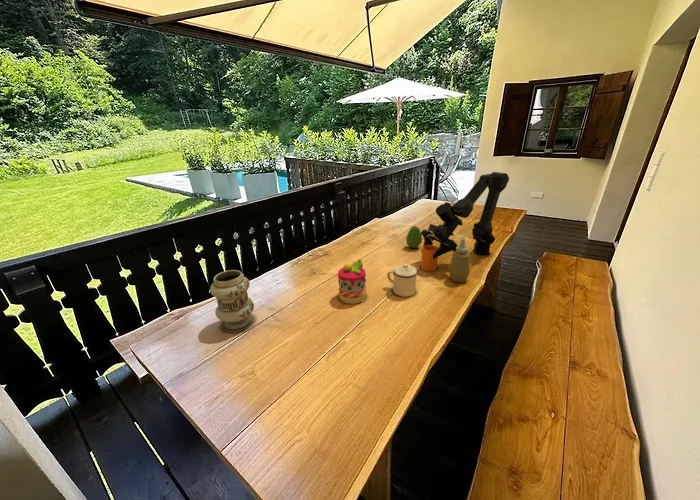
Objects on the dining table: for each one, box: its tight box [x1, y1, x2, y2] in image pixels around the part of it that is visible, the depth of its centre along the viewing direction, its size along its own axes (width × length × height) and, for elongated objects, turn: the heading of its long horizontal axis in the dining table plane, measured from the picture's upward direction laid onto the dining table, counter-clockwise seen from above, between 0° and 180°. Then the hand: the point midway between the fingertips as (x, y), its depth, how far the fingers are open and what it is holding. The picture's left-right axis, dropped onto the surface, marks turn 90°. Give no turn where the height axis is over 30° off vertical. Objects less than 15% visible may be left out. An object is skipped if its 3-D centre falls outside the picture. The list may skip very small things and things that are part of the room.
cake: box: [337, 258, 367, 305], centre depth 112 cm, size 10×11×15 cm
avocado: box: [405, 225, 423, 249], centre depth 157 cm, size 8×8×12 cm
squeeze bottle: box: [448, 238, 471, 283], centre depth 122 cm, size 8×8×18 cm
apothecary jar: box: [209, 269, 255, 333], centre depth 97 cm, size 12×12×18 cm
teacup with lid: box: [386, 263, 418, 297], centre depth 116 cm, size 12×9×12 cm
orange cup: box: [420, 244, 439, 272], centre depth 134 cm, size 7×7×10 cm
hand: (427, 255), depth 133 cm, fingers closed on orange cup, 7 cm apart
